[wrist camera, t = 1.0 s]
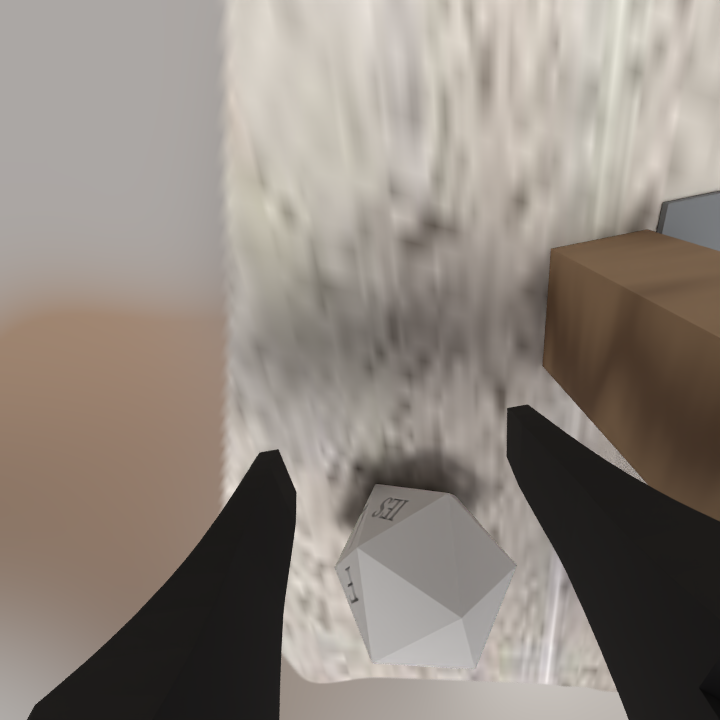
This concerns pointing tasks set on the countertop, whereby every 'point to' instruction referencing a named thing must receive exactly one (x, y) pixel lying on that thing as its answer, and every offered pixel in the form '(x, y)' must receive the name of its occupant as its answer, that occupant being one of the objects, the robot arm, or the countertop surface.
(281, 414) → the countertop surface
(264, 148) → the countertop surface
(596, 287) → the walnut block
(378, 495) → the die
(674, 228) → the mat
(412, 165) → the countertop surface
